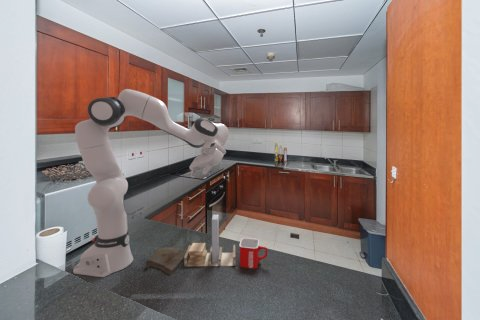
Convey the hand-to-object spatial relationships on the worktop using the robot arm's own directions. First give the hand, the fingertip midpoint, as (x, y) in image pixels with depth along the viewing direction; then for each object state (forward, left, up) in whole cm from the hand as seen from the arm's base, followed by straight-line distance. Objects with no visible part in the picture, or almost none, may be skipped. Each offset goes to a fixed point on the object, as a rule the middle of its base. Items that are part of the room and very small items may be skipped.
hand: (197, 175), depth 90 cm
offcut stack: (0, -1, -39) cm, 39 cm away
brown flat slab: (-14, -2, -41) cm, 43 cm away
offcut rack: (+6, -1, -40) cm, 40 cm away
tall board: (+8, -1, -39) cm, 39 cm away
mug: (+25, -4, -40) cm, 47 cm away
